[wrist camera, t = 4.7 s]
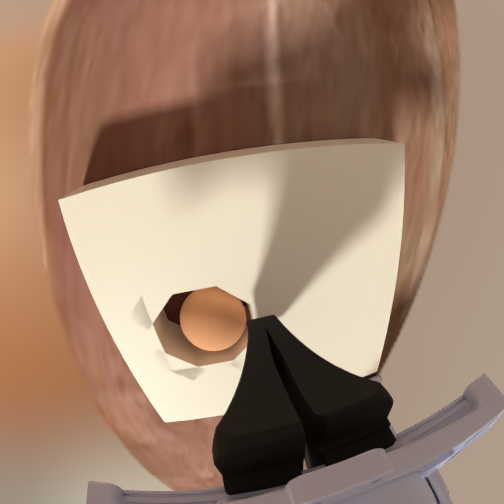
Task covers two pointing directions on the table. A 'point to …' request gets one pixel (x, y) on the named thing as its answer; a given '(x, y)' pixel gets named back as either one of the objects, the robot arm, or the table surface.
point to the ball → (212, 319)
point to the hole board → (244, 257)
